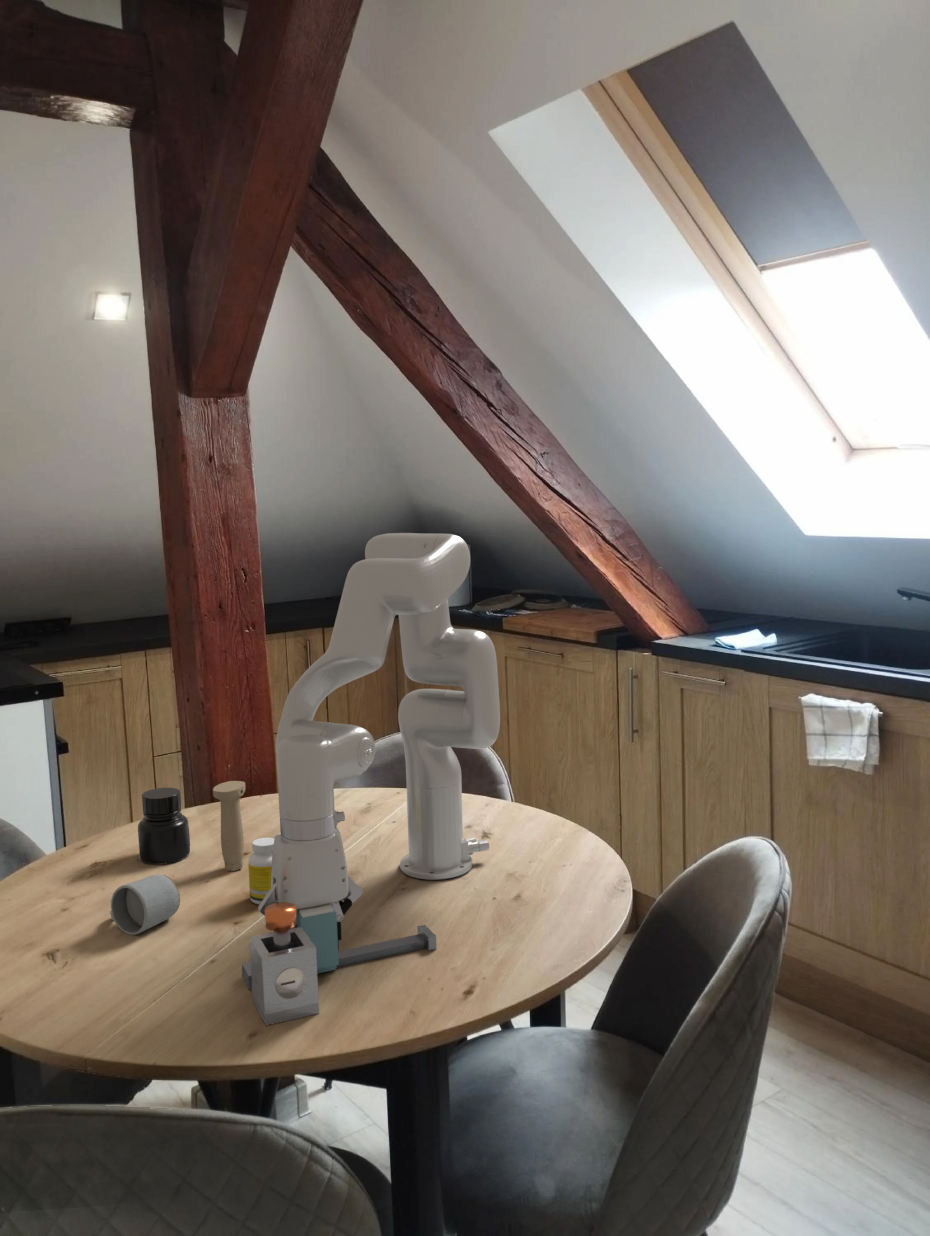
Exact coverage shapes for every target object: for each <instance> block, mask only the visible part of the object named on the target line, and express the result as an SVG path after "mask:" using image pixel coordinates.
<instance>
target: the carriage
mask: <svg viewBox="0 0 930 1236" xmlns="http://www.w3.org/2000/svg"><path fill="white" fill-rule="evenodd" d="M297 927H302V929H303V930H304V931H305V933H306V934H307V936H308V937H309V938H310V940H311V941H312V943H313V944H314V945H315V947H316V959H317V975H318V974H321V973H327V972H331V971H335V970H337V968H336V965H339V960H338V951H339V949H338V942H339V940H338V937H337V914H336V911H335V910H334V908H333V907H332V906H331V905H330V904H326V905H321V906H316V907H311V908H305V909H300V910H298V913H297V925H296V926H295V928H297Z"/></svg>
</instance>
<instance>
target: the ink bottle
mask: <svg viewBox="0 0 930 1236" xmlns="http://www.w3.org/2000/svg"><path fill="white" fill-rule="evenodd" d="M141 801H142V802H141V803H142V815H143V818H142V819H141V820H140V822H138V825H137V836H138V852H139V859H140V861H142V862H144V863H147V864H155V865H158V864H159V865H163V864H164V865H165V864H171V863H176V862H178V861H180V860H183V859H184V858H186V857H188V855H189V854H190V853H191V852H190V851H191V841H190V840H191V838H190V837H191V836H190V827H189V826H190V825H189V818H187V816H185V814H183V813H182V796H181V789H178V788H175V787H156V788H152V789H148V790H146V791H144V792H143V793H142V794H141Z"/></svg>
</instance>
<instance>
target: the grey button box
mask: <svg viewBox="0 0 930 1236" xmlns="http://www.w3.org/2000/svg"><path fill="white" fill-rule="evenodd" d="M290 936H291V949H286V950H281V951H276V952H274V942H273V931H271V932H269V933H263V934H259V935H254V936H249V937H248V939H249V941H248V942H249V955H250V956H249V958H250V962H251V977H252V990H251V993H252V995H251V996H252V1002H254V1003H253V1005H254V1004H255V1005H254V1007H255V1006H256V1007H255V1008H257V1009H256V1011H257V1012H258V1015H259V1017H260V1018H261V1017H262V1018H261V1020H262V1019H263V1020H262V1021H264V1022H263V1023H265V1024H264V1026H265V1027H266V1025H267V1026H269V1025H268V1024H272V1023H276V1024H278V1023H277V1022H280V1023H282V1022H281V1021H284V1022H288V1021H293V1020H297V1019H301V1018H305V1017H309V1016H310V1017H311V1016H314V1015H318V1014H320V1007H319V1005H320V1004H319V1003H320V1002H319V984H318V981H319V980H318V974H317V959H316V947H315V945H314V944H313V943H312V941H311V940H310V938H309V937H308V936H307V934H306V933H305V931H304V930H303V929H302V927H297V928H292V929H290ZM272 1025H273V1024H272Z"/></svg>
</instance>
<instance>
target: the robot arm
mask: <svg viewBox="0 0 930 1236" xmlns="http://www.w3.org/2000/svg"><path fill="white" fill-rule="evenodd" d="M364 557H365V559H361V560H359V561H357V562H355V563H354V564H352V566H351V567H350V569H349V570H348V572H347V573H346V574H347V575H346V578H345V581H344V585H343V589H342V593H341V598H340V602H339V604H338V610H337V614H336V617H335V622H334V626H333V629H332V633H331V638H330V641H329V645H328V648H327V650H326V651H325V653H323V655H321V656H320V657H319V658H317V659H316V661H314V662H313V663H312V664H311V665H310V666H309V667H308V668H307V669H306V670H305V672H303V674H302V675H301V676H300V677H299V678H298V680H296V682H295V683H294V684H293V686H292V687H291V689H290V691H289V692H288V694H287V697H286V699H285V702H284V705H283V709H282V712H281V716H280V720H279V724H278V727H277V733H276V738H275V739H276V740H275V755H276V768H277V769H276V771H277V772H276V773H277V788H278V789H277V790H278V791H277V792H278V808H279V809H278V810H279V811H278V812H279V828H280V833H279V834H276V835H275V836H274V845H273V854H272V873H271V889H270V890H269V892H268V893H267V895H266V896H265V898H264V899H263V900H262V902H261V903H260V904H258V908H257V909H258V911H259V912H260V913H261V914H262V915H264V916H265V908H266V907H267V906H269V905H271V904H274V903H275V902H276V901H278V902H276V903H280V902H288V903H292V904H294V905H295V906H296V915H297V913H298V910H300V909H305V908H311V907H316V906H321V905H326V904H330V905H331V906H332V907H333V908H334V910H335V911H336V914H337V937H338V950H339V947H340V944H339V942H340V941H341V940H342V921H343V920H344V918H345V914H347V912H348V911H349V910H350V909H351V907H352V906H353V903H355V902H356V901H357V900H358V899H359V898H360V897H361V896H362V894H363V893H364V891H363V889H362V888H361V887H360V886H359V885H358V884H357V883H356V882H355V880H353V879H352V878H351V877H350V876H349V875H348V866H347V859H346V851H345V848H344V842H343V839H342V835H341V832H340V830H339V828H338V827H337V826H338V824H339V823H340V822H344V821H345V820H346V816H345V812H344V811H339V810H338V811H337V810H335V792H334V791H335V790H334V786H335V785H334V784H335V783H336V782H339V781H344V780H348V779H353V778H356V777H358V776H360V775H362V774H363V773H365V772H366V771H367V770H368V769H369V767H370V766H371V765H372V763H373V761H374V758H375V754H376V743H375V739H374V737H373V735H372V734H371V733H370V732H369V730H368V729H365V728H363V727H362V726H359V725H354V724H349V723H337V722H335V723H334V722H330V721H329V722H328V721H318V720H317V721H316V720H314V718H315V715H316V712H317V710H318V708H319V706H320V705H321V704H322V702H323V701H324V700H325V699H326V697H328V696H329V695H330V694H331V693H332V692H334V691H335V690H337V689H338V688H340V687H342V686H344V685H347V684H349V683H350V682H353V681H355V680H358V679H359V678H362V677H364V676H367V675H369V674H373V672H374V673H375V672H376V671H378V670H379V669H381V668H382V666H383V665H384V663H385V661H386V660H385V659H386V655H387V652H388V651H387V650H388V646H389V642H390V638H391V634H392V629H393V626H394V622H395V621H394V620H395V618H396V616H398V623H399V624H398V625H399V636H400V646H401V647H400V648H401V655H402V656H401V657H402V665H403V670H404V673H405V675H406V677H408V679H409V680H411V681H413V682H416V683H420V684H426V685H427V684H428V685H440V686H456V687H461V688H462V690H453V689H443V688H442V689H441V688H419V689H414V690H412V691H410V692H408V693H406V695H404V697H403V698H402V699H401V701H400V703H399V705H398V710H397V711H398V712H397V713H398V714H397V716H398V719H397V720H398V727H399V731H400V734H401V738H402V744H403V749H404V750H403V751H404V758H405V759H404V760H405V775H406V776H405V779H406V780H405V781H406V806H407V808H406V809H407V838H408V839H407V840H408V841H407V842H408V844H407V845H408V853H407V854H406V855H404V856H403V857H402V858H401V860H400V861H399V865H400V866H399V869H400V871H401V872H402V873H403V874H405V875H407V876H408V877H412V878H415V879H420V880H428V881H429V880H430V881H433V880H436V881H437V880H447V879H452V878H457V877H460V876H462V875H465V874H466V873H468V872H469V871H471V869H472V867H473V858H472V855H473V854H474V853H479V852H485V851H489V850H490V843H489V841H488V839H480V840H477V839H476V837H471V838H467V839H465V838H464V834H463V833H464V831H463V795H462V794H463V793H462V792H463V791H462V789H463V788H462V787H463V786H462V769H461V765H460V761H459V760H458V757H457V755H456V753H455V752H454V750H453V748H460V749H475V750H478V749H480V750H482V749H487V748H489V747H491V746H492V745H494V743H495V742H496V741H497V739H498V737H499V733H500V726H501V706H500V705H501V704H500V691H499V676H498V675H499V673H498V662H497V661H498V660H497V653H496V648H495V645H494V643H493V641H492V639H491V638H490V636H489V635H488V634H486V633H485V632H484V631H481V630H477V629H468V628H467V629H465V628H454V627H453V626H452V623H451V617H450V616H451V615H450V609H449V608H450V607H449V597H451V596H452V595H453V594H454V593H455V592H456V591H458V589H459V588H460V587H461V586H462V584H463V583H464V582H465V580H466V578H467V577H468V574H469V570H470V567H471V553H470V547H468V544H467V542H466V541H465V540H464V539H463V538H462V537H461V536H459V535H456V534H454V533H418V532H417V533H414V532H396V533H395V532H394V533H392V532H391V533H382V534H378V535H375V536H373V537H372V538H370V539H369V540H368V541H367V543H366V545H365V550H364ZM294 928H295V927H294Z"/></svg>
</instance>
